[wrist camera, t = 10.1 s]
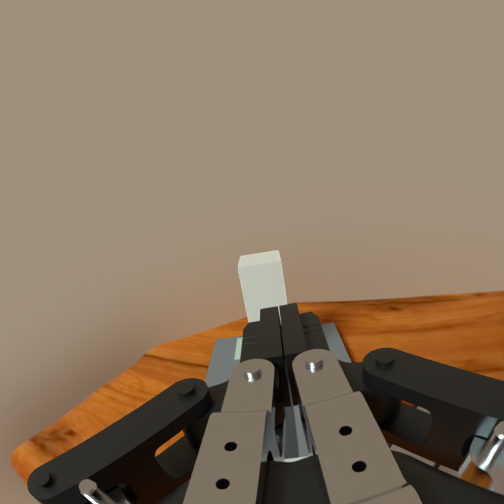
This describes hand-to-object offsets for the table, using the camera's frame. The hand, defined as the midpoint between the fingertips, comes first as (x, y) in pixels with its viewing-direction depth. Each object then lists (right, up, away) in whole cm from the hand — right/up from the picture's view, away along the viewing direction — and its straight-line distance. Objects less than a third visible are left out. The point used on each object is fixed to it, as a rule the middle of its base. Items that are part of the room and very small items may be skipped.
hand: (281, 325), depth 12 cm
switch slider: (+2, -9, +20) cm, 22 cm away
